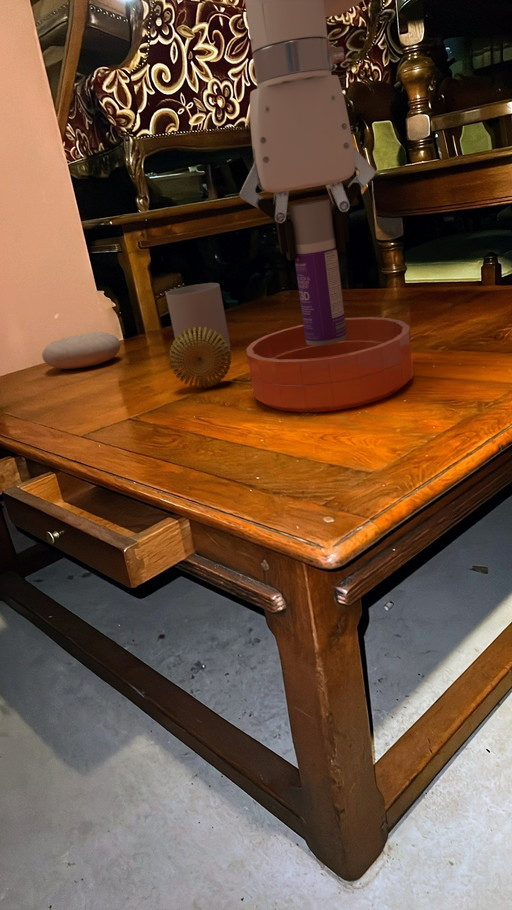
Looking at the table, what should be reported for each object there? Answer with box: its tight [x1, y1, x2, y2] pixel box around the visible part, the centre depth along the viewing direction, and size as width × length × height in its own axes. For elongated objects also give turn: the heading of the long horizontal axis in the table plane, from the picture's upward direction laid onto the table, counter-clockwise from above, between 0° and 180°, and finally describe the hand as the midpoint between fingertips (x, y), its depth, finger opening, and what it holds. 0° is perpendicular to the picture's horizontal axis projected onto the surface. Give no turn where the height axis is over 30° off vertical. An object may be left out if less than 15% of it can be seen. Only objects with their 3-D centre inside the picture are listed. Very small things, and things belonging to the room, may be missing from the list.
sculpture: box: [168, 326, 233, 389], centre depth 89 cm, size 8×4×8 cm, turn 91°
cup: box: [165, 282, 232, 356], centre depth 107 cm, size 8×8×10 cm
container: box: [288, 199, 347, 346], centre depth 77 cm, size 5×5×15 cm
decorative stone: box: [41, 332, 121, 370], centre depth 114 cm, size 13×9×5 cm
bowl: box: [245, 316, 414, 413], centre depth 80 cm, size 19×19×6 cm
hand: (315, 253), depth 76 cm, fingers closed on container, 4 cm apart
